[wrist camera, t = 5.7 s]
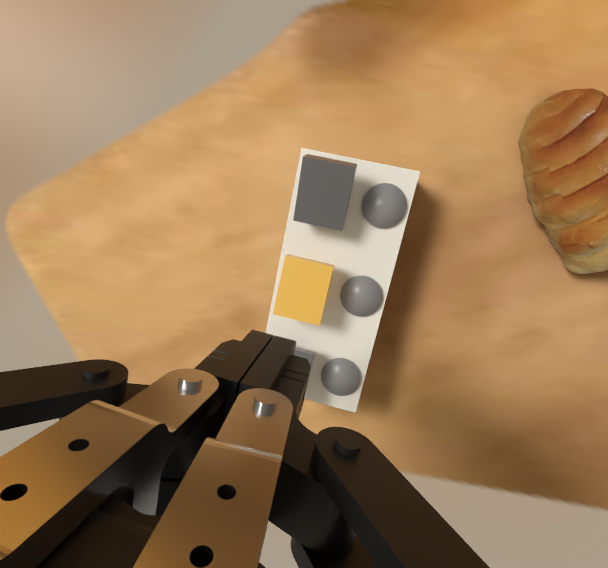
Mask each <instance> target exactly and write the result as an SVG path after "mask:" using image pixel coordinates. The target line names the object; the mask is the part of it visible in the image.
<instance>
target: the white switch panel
mask: <svg viewBox="0 0 608 568" xmlns="http://www.w3.org/2000/svg"><path fill="white" fill-rule="evenodd" d="M306 154H311V155H316V156H320V157H325V158H330V159H335V160H340V161H345V162H350V163H355V164H357V169H356V173H355V178H354V182H353V187H352V191H351V196H350V200H349V205H348V210H347V214H346V219H345V223H344V227H343V229H342V231H338V230H333V229H329V228H324V227H320V226H315V225H311V224H306V223H302V222H297V221H293V218H294V212H295V205H296V199H297V192H298V185H299V179H300V172H301V166H302V159H303V156H305V155H306ZM419 174H420V171H415V170H410V169H405V168H400V167H395V166H390V165H385V164H380V163H375V162H370V161H365V160H360V159H355V158H350V157H345V156H340V155H335V154H330V153H325V152H320V151H315V150H309V149H304V148H302V149H301V154H300V159H299V164H298V169H297V174H296V180H295V185H294V190H293V195H292V200H291V205H290V210H289V216H288V221H287V226H286V231H285V236H284V241H283V246H282V251H281V257H280V262H279V267H278V272H277V277H276V282H275V287H274V293H273V298H272V303H271V308H270V313H269V318H268V323H267V329H266V333H268V334H271V335H274V336H275V335H276V336H279V337H283V338H287V339H291V340H295V341H296V347H297V348H301V349H305V350H309V351H313V352H315V354H314V358H313V362H312V366H311V371H310V375H309V379H308V384H307V388H306V392H305V397H304V399H307V400H311V401H315V402H318V403H322V404H325V405H329V406H333V407H336V408H340V409H344V410H347V411H351V412H355V413H356V409H357V405H358V402H359V398H360V394H361V390H362V387H363V383H364V379H365V375H366V372H367V368H368V364H369V360H370V357H371V353H372V349H373V346H374V342H375V338H376V334H377V331H378V327H379V323H380V319H381V316H382V312H383V308H384V304H385V301H386V297H387V293H388V290H389V286H390V282H391V278H392V275H393V271H394V267H395V263H396V260H397V256H398V252H399V248H400V245H401V241H402V237H403V233H404V230H405V226H406V222H407V219H408V215H409V211H410V207H411V204H412V200H413V196H414V192H415V189H416V185H417V181H418V177H419ZM288 254H290V255H295V256H299V257H303V258H307V259H312V260H316V261H320V262H325V263H329V264H333V265H335V266H334V270H333V275H332V279H331V283H330V287H329V292H328V296H327V300H326V305H325V309H324V313H323V317H322V322H321V324H320V326H318V325H314V324H310V323H306V322H302V321H298V320H294V319H290V318H286V317H282V316H278V315H274V314H273V311H274V306H275V302H276V297H277V292H278V287H279V283H280V278H281V273H282V268H283V264H284V259H285V255H288Z"/></svg>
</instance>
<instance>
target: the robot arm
mask: <svg viewBox="0 0 608 568" xmlns="http://www.w3.org/2000/svg"><path fill="white" fill-rule="evenodd" d="M295 347H296V341H295V340H291V339H287V338H283V337H279V336H276V335H275V336H274V335H271V334H268V333H264V332H260V331H256V330H251V332H250V333H249V334H248V335H247V336H246V337H245V338H244V339H243V340H242V341H238V340H234V339H233V340H230V341H227V342H224V343H221V344H220V345H219V346H218V347H217V348H216V349H215V350H214V351H213V352H212V353H210V354H209V356H207V357H206V358H205V359H204V360H203V361H202V362H201V363H200V364H199V365H198V366H196V367H195V368H194V369H178V370H174V371H171V372H169V373H167V374H165V375H164V376H163V377H161V378H160V379H158V380H157V381H155V382H154V383H152V384H151V385H142V384H130V383H127V380H128V370H127V368H126V367H125V366H124V365H122V364H120V363H118V362H115V361H110V360H86V361H79V362H72V363H64V364H57V365H50V366H42V367H35V368H28V369H21V370H13V371H6V372H0V431H2V430H7V429H11V428H15V427H20V426H24V425H29V424H33V423H38V422H43V421H47V420H52V419H56V418H59V421H58V422H56V423H55V424H53V425H51V426H50V427H48V428H46V429H45V430H43V431H42V432H40V433H38V434H37V435H35V436H33V437H32V438H30V439H28V440H27V441H25V442H24V443H22V444H20V445H19V446H17V447H15V448H14V449H12V450H11V451H9V452H7V453H6V454H4V455H2V456H1V457H0V568H265V567H264V566H263V565H262V564H261V563H259V559H260V556H261V551H262V546H263V542H264V538H265V533H266V529H267V524H268V520H269V521H270V522H271V523H273V524H274V525H276V526H277V527H279V528H280V529H281V530H283V531H284V532H286V533H287V534H289V535H290V536H291V537H292V538H291V550H292V553H293V556H294V558H295V561H296V563H297V565H298V567H299V568H489V567H488V565H487V564H486V563H485V562H484V561H483V560H482V559H481V558H480V557H479V556H478V555H477V554H476V553H475V552H474V551H473V550H472V548H471V547H470V546H469V545H468V544H467V543H466V542H465V541H464V540H463V539H462V538H461V537H460V536H459V535H458V534H457V533H456V532H455V530H454V529H453V528H452V527H451V526H450V525H449V524H448V523H447V522H446V521H445V520H444V519H443V518H442V517H441V516H440V514H439V513H438V512H437V511H436V510H435V509H434V508H433V507H432V506H431V505H430V504H429V503H428V502H427V501H426V499H425V498H424V497H423V496H422V495H421V494H420V493H419V492H418V491H417V490H416V489H415V488H414V487H413V486H412V485H411V484H410V482H408V480H407V479H406V478H405V477H404V476H403V475H402V474H401V473H400V472H399V471H398V470H397V469H396V468H395V467H394V465H393V464H392V463H391V462H390V461H389V460H388V459H387V458H386V457H385V456H384V455H383V454H382V453H381V452H380V451H379V450H378V448H377V447H376V446H375V445H374V444H373V443H372V442H371V441H370V440H369V439H368V438H366V437H365V436H363V435H362V434H360V433H358V432H356V431H354V430H351V429H347V428H343V427H329V428H325V429H323V430H321V431H320V432H319V433H318V434H315V433H313V432H312V431H310V430H308V429H307V428H306V427H305V426H304V425H303V424H302V423H301V422H300V421H299V419H298V418H299V416H300V413H301V410H302V406H303V401H304V397H305V392H306V388H307V384H308V379H309V375H310V371H311V366H310V363H309V361H308V359H306V358H302V357H298V356H295V355H294V352H295Z"/></svg>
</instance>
